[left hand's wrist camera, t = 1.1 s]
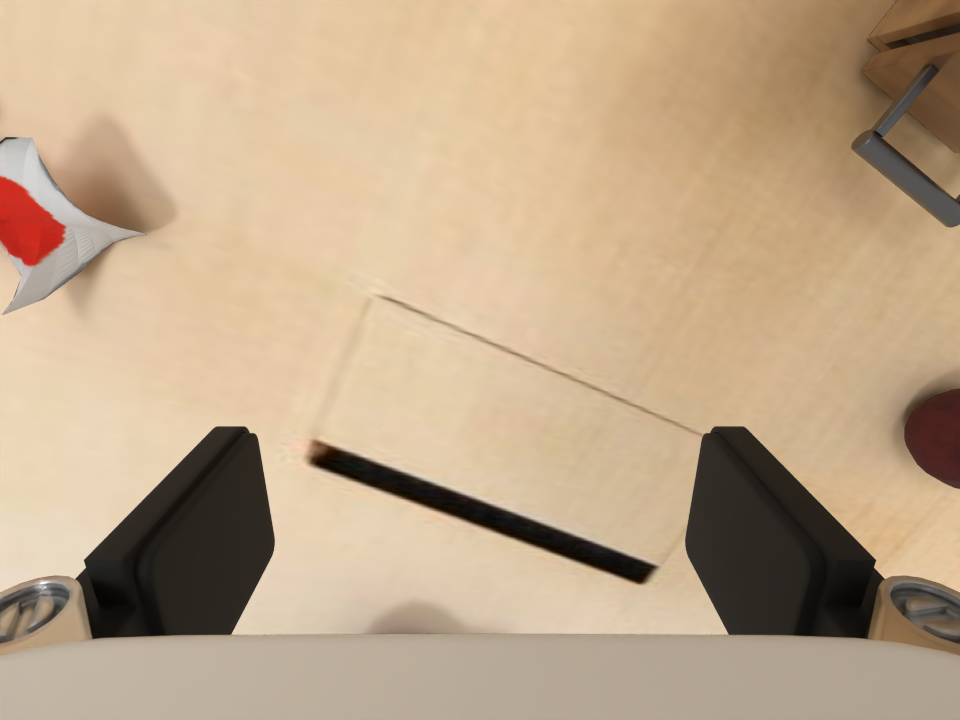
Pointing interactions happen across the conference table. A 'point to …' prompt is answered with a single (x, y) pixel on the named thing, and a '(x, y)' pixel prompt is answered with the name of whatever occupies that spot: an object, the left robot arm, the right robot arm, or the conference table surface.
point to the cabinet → (913, 21)
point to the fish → (44, 225)
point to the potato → (937, 437)
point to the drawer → (918, 112)
